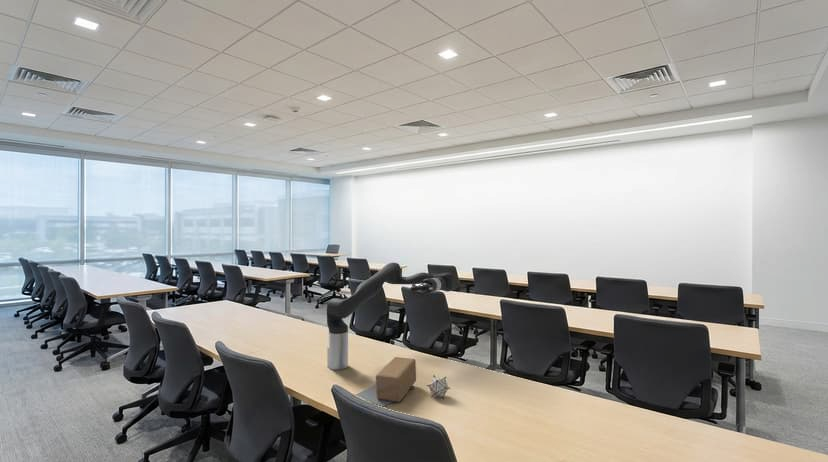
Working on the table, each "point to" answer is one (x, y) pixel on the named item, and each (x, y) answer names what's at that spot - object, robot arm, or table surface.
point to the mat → (371, 396)
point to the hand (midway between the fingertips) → (412, 289)
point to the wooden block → (396, 379)
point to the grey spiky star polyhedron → (438, 387)
